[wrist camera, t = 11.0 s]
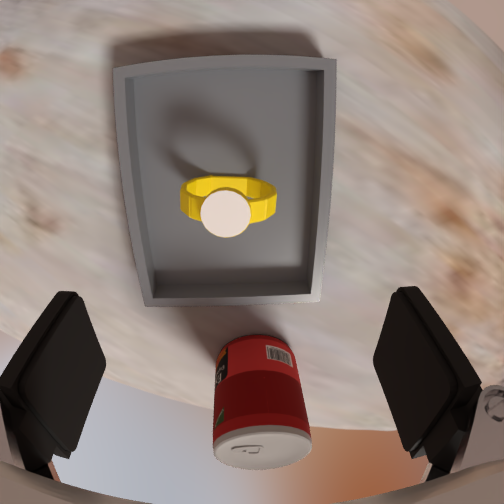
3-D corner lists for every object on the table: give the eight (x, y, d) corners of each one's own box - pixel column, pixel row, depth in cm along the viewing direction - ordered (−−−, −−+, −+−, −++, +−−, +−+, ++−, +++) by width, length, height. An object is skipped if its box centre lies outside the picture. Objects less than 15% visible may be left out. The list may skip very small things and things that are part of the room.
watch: (189, 201, 23) (169, 234, 18) (190, 164, 22) (167, 187, 16) (272, 206, 23) (275, 242, 18) (275, 168, 22) (280, 193, 16)
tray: (325, 62, 19) (336, 59, 17) (313, 284, 27) (319, 301, 25) (125, 70, 18) (112, 68, 16) (151, 289, 27) (145, 306, 24)
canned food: (208, 338, 30) (200, 437, 20) (291, 325, 29) (312, 424, 20) (225, 386, 33) (224, 473, 23) (297, 376, 33) (313, 463, 23)
